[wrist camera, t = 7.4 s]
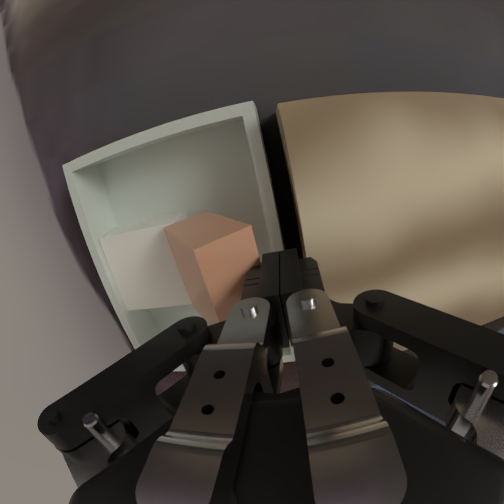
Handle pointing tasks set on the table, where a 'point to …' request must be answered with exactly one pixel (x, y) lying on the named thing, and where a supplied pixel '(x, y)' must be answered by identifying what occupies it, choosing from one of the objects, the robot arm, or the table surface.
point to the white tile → (145, 263)
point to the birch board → (402, 196)
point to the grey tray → (176, 193)
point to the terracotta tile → (213, 261)
